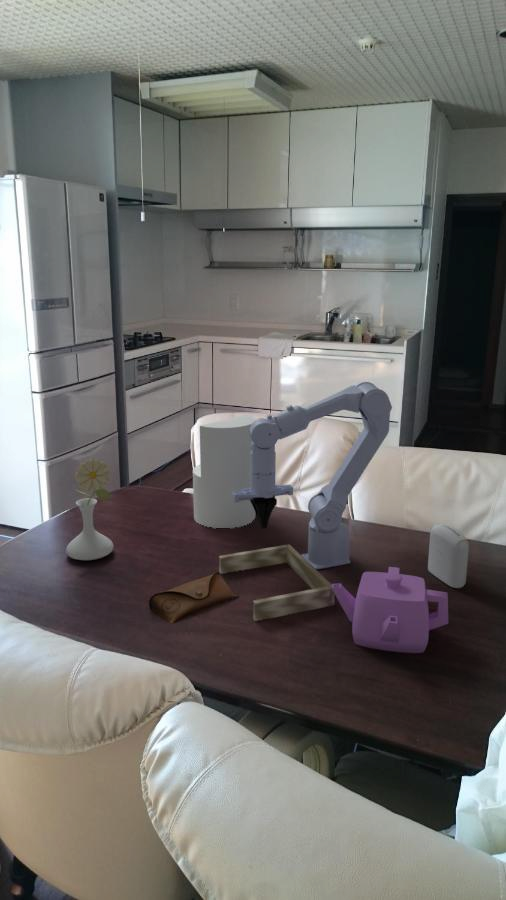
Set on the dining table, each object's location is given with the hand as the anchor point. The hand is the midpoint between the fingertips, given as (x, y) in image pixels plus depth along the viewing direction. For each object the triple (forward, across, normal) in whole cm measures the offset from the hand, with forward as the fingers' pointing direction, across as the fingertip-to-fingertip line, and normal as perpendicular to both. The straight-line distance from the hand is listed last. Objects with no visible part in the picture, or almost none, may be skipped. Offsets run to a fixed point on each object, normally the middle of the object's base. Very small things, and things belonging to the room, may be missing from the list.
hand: (262, 526), depth 151 cm
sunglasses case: (+10, -20, -12) cm, 25 cm away
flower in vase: (+10, -37, +19) cm, 43 cm away
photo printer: (+10, +36, -22) cm, 43 cm away
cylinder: (+10, +1, +31) cm, 32 cm away
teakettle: (+10, +11, -37) cm, 40 cm away
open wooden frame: (+9, -2, -12) cm, 15 cm away
